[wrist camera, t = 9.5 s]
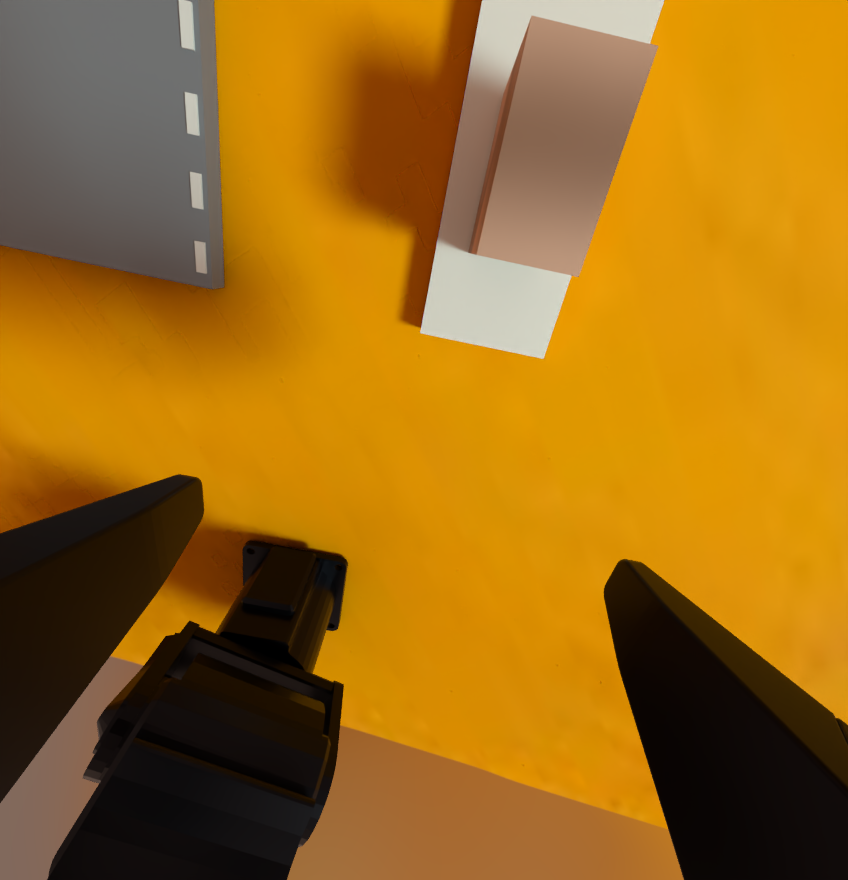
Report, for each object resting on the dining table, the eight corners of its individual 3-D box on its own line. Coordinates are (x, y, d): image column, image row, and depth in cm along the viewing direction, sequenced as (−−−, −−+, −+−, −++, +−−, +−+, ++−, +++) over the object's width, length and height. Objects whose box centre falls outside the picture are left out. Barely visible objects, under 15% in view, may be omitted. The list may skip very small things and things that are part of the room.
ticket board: (224, 287, 18) (211, 289, 17) (-45, 231, 17) (-75, 230, 16) (209, -107, 12) (189, -138, 11) (-179, -202, 12) (-236, -243, 11)
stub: (538, 353, 18) (577, 398, 13) (421, 328, 18) (410, 364, 13) (654, 0, 13) (807, -182, 7) (490, -40, 13) (522, -258, 7)
